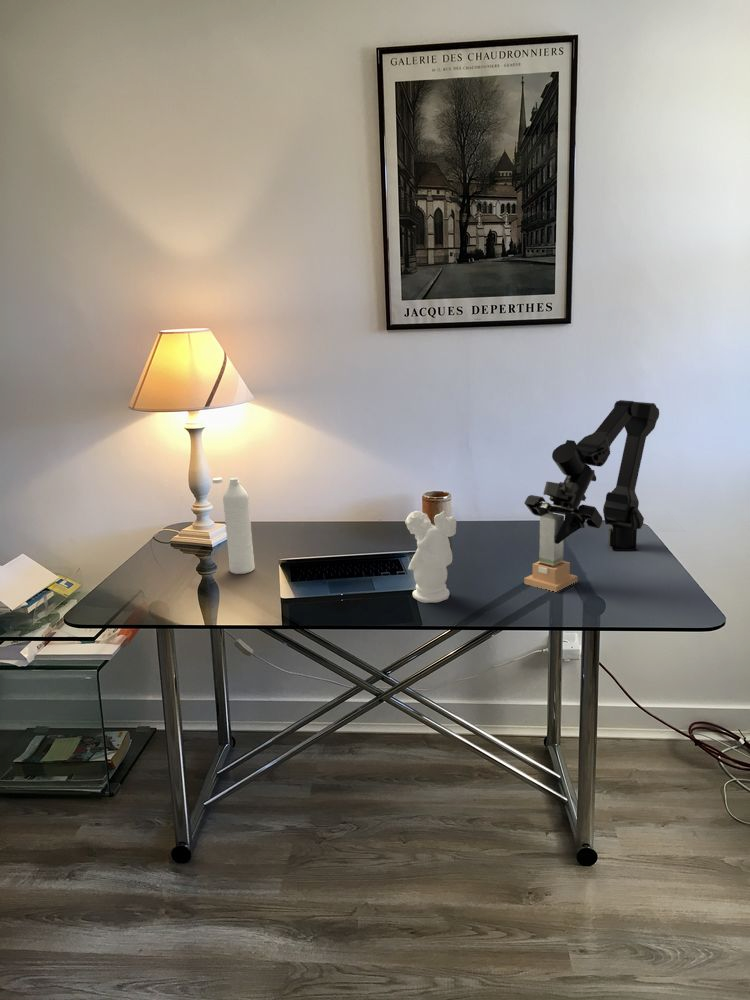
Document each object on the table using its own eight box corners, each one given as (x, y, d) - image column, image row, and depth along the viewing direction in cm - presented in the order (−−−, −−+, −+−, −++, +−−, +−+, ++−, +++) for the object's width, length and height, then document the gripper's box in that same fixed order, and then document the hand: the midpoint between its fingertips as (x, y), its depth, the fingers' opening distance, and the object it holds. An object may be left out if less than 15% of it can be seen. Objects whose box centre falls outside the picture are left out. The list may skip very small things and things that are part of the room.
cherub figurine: (402, 594, 188) (398, 505, 182) (442, 581, 195) (439, 495, 189) (435, 609, 178) (431, 515, 173) (475, 595, 185) (473, 504, 180)
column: (548, 557, 192) (549, 512, 189) (563, 561, 189) (564, 515, 186) (539, 562, 189) (539, 516, 186) (553, 565, 186) (554, 519, 183)
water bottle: (256, 565, 212) (248, 474, 205) (252, 573, 206) (244, 480, 199) (224, 566, 212) (215, 476, 205) (219, 575, 206) (209, 482, 199)
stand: (545, 573, 197) (545, 554, 195) (577, 581, 190) (577, 562, 189) (524, 583, 191) (524, 564, 189) (556, 592, 185) (556, 572, 183)
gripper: (529, 462, 192) (501, 516, 188) (597, 473, 179) (569, 531, 175) (547, 487, 200) (521, 539, 195) (614, 499, 187) (588, 555, 182)
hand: (548, 541), depth 187 cm, fingers closed on column, 4 cm apart
